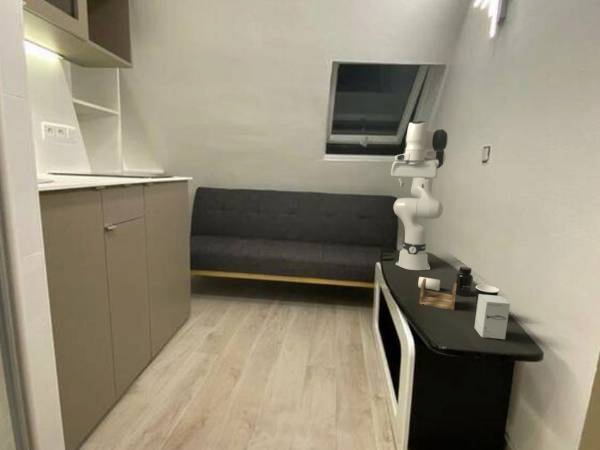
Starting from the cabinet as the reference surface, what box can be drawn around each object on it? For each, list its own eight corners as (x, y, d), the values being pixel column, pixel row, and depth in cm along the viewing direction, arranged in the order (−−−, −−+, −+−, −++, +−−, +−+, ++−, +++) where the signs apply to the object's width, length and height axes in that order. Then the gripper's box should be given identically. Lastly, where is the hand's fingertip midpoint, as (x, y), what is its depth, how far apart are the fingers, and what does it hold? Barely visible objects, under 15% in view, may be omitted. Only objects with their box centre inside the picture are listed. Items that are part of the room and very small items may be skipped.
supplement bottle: (465, 297, 149) (468, 271, 147) (450, 292, 155) (453, 267, 153) (474, 294, 153) (477, 268, 151) (459, 290, 158) (462, 265, 157)
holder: (419, 303, 140) (420, 284, 139) (422, 296, 149) (423, 278, 148) (453, 310, 135) (456, 290, 134) (454, 301, 144) (456, 283, 143)
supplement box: (481, 338, 113) (486, 301, 111) (473, 327, 120) (478, 293, 118) (505, 340, 112) (510, 303, 110) (496, 330, 119) (501, 295, 117)
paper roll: (417, 288, 159) (418, 278, 158) (419, 285, 164) (419, 275, 163) (438, 292, 155) (439, 281, 154) (439, 289, 160) (440, 278, 159)
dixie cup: (471, 316, 129) (474, 288, 127) (473, 309, 136) (476, 283, 134) (495, 322, 125) (499, 293, 123) (496, 314, 132) (500, 287, 130)
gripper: (439, 157, 157) (436, 188, 159) (393, 157, 164) (391, 186, 166) (439, 157, 151) (436, 188, 153) (391, 156, 158) (389, 186, 160)
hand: (412, 187), depth 160 cm, fingers open, 8 cm apart
